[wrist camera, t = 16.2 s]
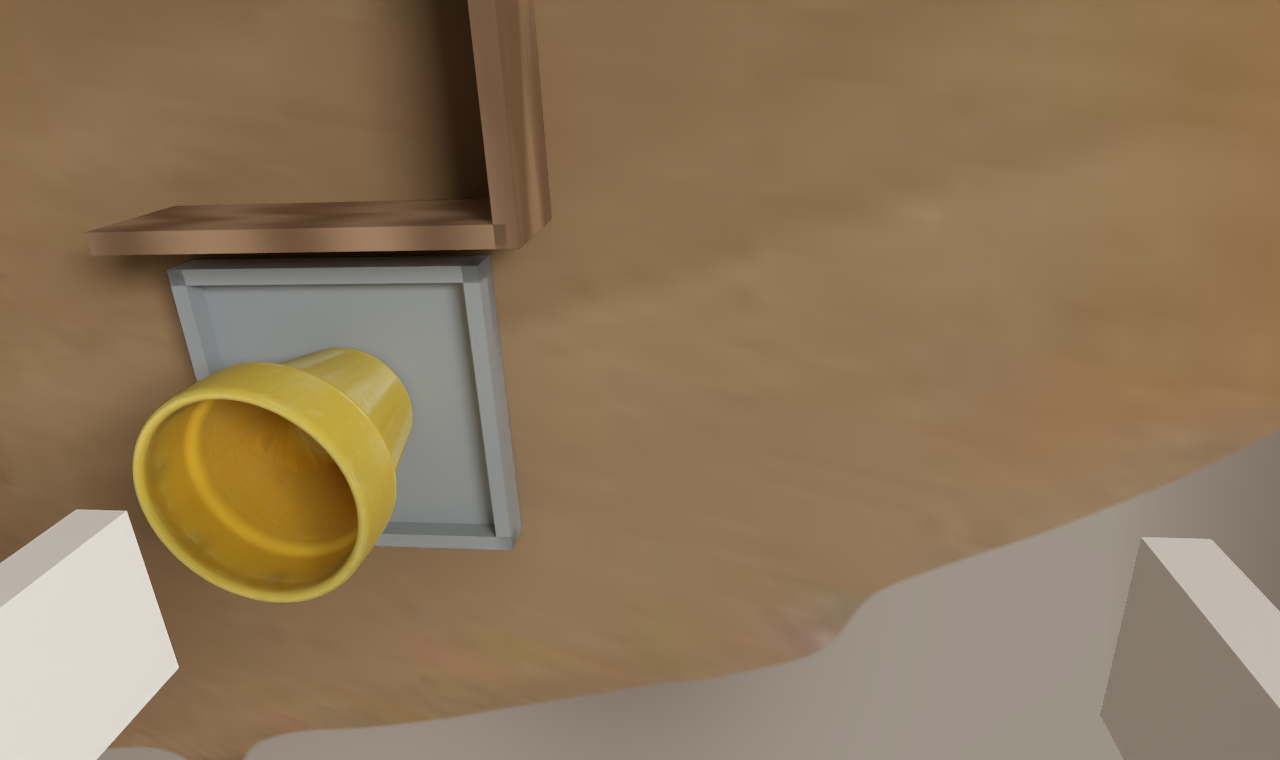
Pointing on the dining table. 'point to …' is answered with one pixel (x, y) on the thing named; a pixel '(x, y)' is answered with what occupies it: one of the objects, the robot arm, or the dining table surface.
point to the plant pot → (276, 471)
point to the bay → (394, 225)
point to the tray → (408, 344)
